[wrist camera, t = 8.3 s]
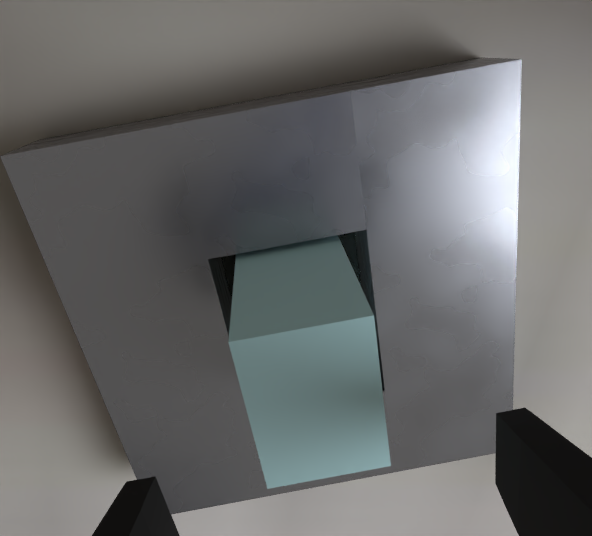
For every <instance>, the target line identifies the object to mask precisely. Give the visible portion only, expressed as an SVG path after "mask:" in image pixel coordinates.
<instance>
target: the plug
mask: <svg viewBox="0 0 592 536" xmlns="http://www.w3.org/2000/svg"><path fill="white" fill-rule="evenodd" d="M228 343H229V346H230V350H231V354H232V358H233V361H234V365H235V369H236V373H237V376H238V380H239V384H240V388H241V391H242V395H243V399H244V403H245V406H246V410H247V414H248V418H249V421H250V425H251V429H252V433H253V436H254V440H255V444H256V448H257V451H258V455H259V459H260V463H261V466H262V470H263V474H264V478H265V481H266V485H267V489H270V488H275V487H281V486H286V485H291V484H297V483H302V482H308V481H313V480H318V479H324V478H329V477H334V476H340V475H345V474H351V473H356V472H361V471H367V470H372V469H377V468H383V467H388V466H391V462H390V453H389V444H388V435H387V427H386V418H385V409H384V400H383V391H382V382H381V373H380V365H379V356H378V347H377V338H376V329H375V320H374V314H373V312H372V310H371V308H370V306H369V303H368V301H367V299H366V297H365V294H364V292H363V290H362V288H361V286H360V283H359V281H358V279H357V277H356V274H355V272H354V270H353V268H352V266H351V263H350V261H349V259H348V257H347V255H346V252H345V250H344V248H343V246H342V243H341V241H340V239H339V237H338V235H336V236H330V237H325V238H320V239H314V240H309V241H304V242H298V243H293V244H287V245H282V246H277V247H271V248H266V249H261V250H255V251H250V252H245V253H239V254H236V260H235V272H234V283H233V295H232V306H231V318H230V329H229V341H228Z"/></svg>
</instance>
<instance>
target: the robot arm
mask: <svg viewBox="0 0 592 536" xmlns="http://www.w3.org/2000/svg"><path fill="white" fill-rule="evenodd" d="M496 485H497V488H498V490H499V492H500V495H501V497H502V499H503V502H504V504H505V506H506V508H507V511H508V513H509V515H510V517H511V519H512V522H513V524H514V526H515V528H516V530H517V533H518V534H519V536H592V458H591V457H590V456H589V455H587V454H586V453H585V452H583V451H582V450H581V449H579V448H578V447H577V446H575V445H574V444H573V443H571V442H570V441H569V440H567V439H566V438H565V437H563V436H562V435H561V434H559V433H558V432H557V431H555V430H554V429H553V428H551V427H550V426H549V425H547V424H546V423H545V422H544V421H542V420H541V419H540V418H538V417H537V416H536V415H534V414H533V413H532V412H530V411H529V410H527V409H526V408H521V409H516V410H510V411H505V412H499V413H496ZM92 536H179V534H178V531H177V529H176V526H175V524H174V521H173V519H172V516H171V514H170V511H169V509H168V506H167V504H166V501H165V499H164V496H163V494H162V491H161V489H160V486H159V484H158V481H157V479H156V476H155V477H149V478H144V479H139V480H133V481H128V482H126V484H125V485H124V486H123V488H122V489H121V491H120V492H119V494H118V495H117V497H116V499H115V500H114V502H113V503H112V505H111V506H110V508H109V510H108V511H107V513H106V514H105V516H104V517H103V519H102V521H101V522H100V524H99V525H98V527H97V528H96V530H95V532H94V533H93V535H92Z"/></svg>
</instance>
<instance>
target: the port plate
mask: <svg viewBox="0 0 592 536" xmlns="http://www.w3.org/2000/svg"><path fill="white" fill-rule="evenodd" d="M521 68H522V59H501V58H478V59H472V60H467V61H461V62H456V63H451V64H445V65H440V66H435V67H429V68H424V69H418V70H413V71H408V72H402V73H397V74H392V75H386V76H381V77H375V78H370V79H365V80H359V81H354V82H349V83H343V84H338V85H332V86H327V87H322V88H316V89H311V90H306V91H300V92H295V93H289V94H284V95H279V96H273V97H268V98H263V99H257V100H252V101H246V102H241V103H236V104H230V105H225V106H220V107H214V108H209V109H203V110H198V111H193V112H187V113H182V114H177V115H171V116H166V117H160V118H155V119H150V120H144V121H139V122H134V123H128V124H123V125H117V126H112V127H107V128H101V129H96V130H91V131H85V132H80V133H74V134H69V135H64V136H58V137H53V138H48V139H42V140H38V141H35V142H33V143H30V144H28V145H26V146H23V147H21V148H19V149H16V150H14V151H11V152H9V153H7V154H4V155H2V156H0V157H1V160H2V162H3V165H4V167H5V169H6V172H7V174H8V176H9V179H10V181H11V183H12V186H13V188H14V190H15V193H16V195H17V198H18V200H19V202H20V205H21V207H22V209H23V212H24V214H25V216H26V219H27V221H28V223H29V226H30V228H31V231H32V233H33V235H34V238H35V240H36V242H37V245H38V247H39V249H40V252H41V254H42V256H43V259H44V261H45V264H46V266H47V268H48V271H49V273H50V275H51V278H52V280H53V282H54V285H55V287H56V289H57V292H58V294H59V297H60V299H61V301H62V304H63V306H64V308H65V311H66V313H67V315H68V318H69V320H70V322H71V325H72V327H73V330H74V332H75V334H76V337H77V339H78V341H79V344H80V346H81V348H82V351H83V353H84V355H85V358H86V360H87V363H88V365H89V367H90V370H91V372H92V374H93V377H94V379H95V381H96V384H97V386H98V388H99V391H100V393H101V396H102V398H103V400H104V403H105V405H106V407H107V410H108V412H109V414H110V417H111V419H112V421H113V424H114V426H115V429H116V431H117V433H118V436H119V438H120V440H121V443H122V445H123V447H124V450H125V452H126V454H127V457H128V459H129V462H130V464H131V466H132V469H133V471H134V473H135V476H136V478H137V480H139V479H144V478H149V477H155V476H156V479H157V481H158V484H159V486H160V489H161V491H162V494H163V496H164V499H165V501H166V504H167V506H168V509H169V511H170V514H175V513H181V512H186V511H191V510H197V509H202V508H207V507H213V506H218V505H223V504H228V503H234V502H239V501H244V500H250V499H255V498H260V497H266V496H271V495H276V494H281V493H287V492H292V491H297V490H303V489H308V488H313V487H319V486H324V485H329V484H334V483H340V482H345V481H350V480H356V479H361V478H366V477H372V476H377V475H382V474H387V473H393V472H398V471H403V470H409V469H414V468H419V467H425V466H430V465H435V464H440V463H446V462H451V461H456V460H462V459H467V458H472V457H478V456H483V455H488V454H493V453H496V413H499V412H505V411H510V410H513V380H514V341H515V302H516V263H517V224H518V185H519V146H520V107H521ZM352 232H355V240H356V248H357V256H358V264H359V272H360V280H361V288H362V290H363V292H364V294H365V297H366V299H367V301H368V303H369V306H370V308H371V310H372V312H373V314H374V320H375V329H376V338H377V347H378V356H379V365H380V373H381V382H382V391H383V400H384V409H385V418H386V427H387V435H388V444H389V453H390V462H391V466H388V467H383V468H377V469H372V470H367V471H361V472H356V473H351V474H345V475H340V476H334V477H329V478H324V479H318V480H313V481H308V482H302V483H297V484H291V485H286V486H281V487H275V488H270V489H267V485H266V481H265V478H264V474H263V470H262V466H261V463H260V459H259V455H258V451H257V448H256V444H255V440H254V436H253V433H252V429H251V425H250V421H249V418H248V414H247V410H246V406H245V403H244V399H243V395H242V391H241V388H240V384H239V380H238V376H237V373H236V369H235V365H234V361H233V358H232V354H231V350H230V346H229V343H228V341H229V329H230V318H231V306H232V299H231V295H230V291H229V287H228V283H227V279H226V275H225V271H224V267H223V263H222V259H221V257H223V256H229V255H234V254H239V253H245V252H250V251H255V250H261V249H266V248H271V247H277V246H282V245H287V244H293V243H298V242H304V241H309V240H314V239H320V238H325V237H330V236H336V235H341V234H346V233H352Z"/></svg>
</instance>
